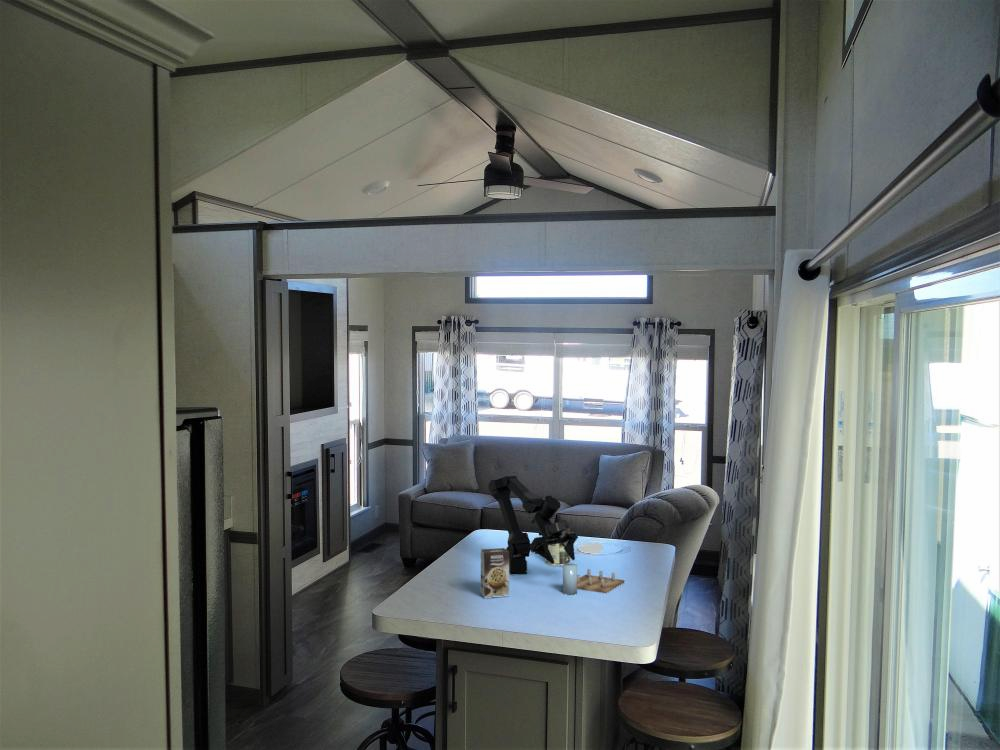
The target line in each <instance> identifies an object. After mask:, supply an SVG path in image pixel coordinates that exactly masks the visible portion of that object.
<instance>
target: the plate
mask: <svg viewBox="0 0 1000 750" xmlns="http://www.w3.org/2000/svg"><path fill="white" fill-rule="evenodd" d="M601 542H605V541H601V540H599V541H598V540H597V541H596V540H594V541H582V542H575V543H574V546H575V545H579V546H577V548H576V550H578V552H575V551H574V555H578V556H584V555H585V556H586V557H593V556H596V555H598V553H599V552H600V551H601V549H602V550H603V549H604V547H603V546H602V545H601V544H602V543H601ZM612 542H613V541H612ZM614 543H616V542H615V541H614V542H613V543H612V544H614ZM580 544H582V545H580ZM579 552H581V553H579ZM588 553H590V554H588ZM605 555H607V554H606V553H605ZM611 555H612V554H609V556H611ZM585 556H584V557H585Z"/></svg>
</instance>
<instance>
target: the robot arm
mask: <svg viewBox="0 0 1000 750" xmlns="http://www.w3.org/2000/svg"><path fill="white" fill-rule="evenodd" d="M488 490H489V492H490V494H491V496H492V498H493V499H494V500H496V501H497V502H498V505H499V509H500V512H501V515H502V517H503V521H504V524H505V527H506V529H507V534H508V538H507V547H506V548H505V549H506V550H508V551H509V575H511V574H518V575H527V574H528V561H527V560H526V558H529V557H530V553H532V554H533V553H535V554H536V555H538V556H540V557H541V558H544V559H545V561H546V560H548V561H549V562H550V563H552V564H554V559H553V557H552V555H551V553H550V551H549V549H548V545H553V544H560V543H561V544H562V546H564V550H565V551H566V552H567V554H568V555H569V556H570V560H572V561H575V560H576V556H575V555H576V554H575V553H574V552H575V551H574V550H575V549H574V547H575V545H574V544H575V543H576V541H578V539H579V536H578V534H577V532H576V531H575V532H574V531H572V532H571V531H570V533H566V534H565V536H564V537H562V538H560V536H561V535H562V532H563V531H566V530H567V528H570V524H569V522H568V521H567V519H562V520H560V521H559V522H558V521H557V522H553V520H552V519H553V518H554V517H555V515H556V514H557V513H558V511H559V510H560V509H561V502H560V501H559V500H558V499H557V498H555V497H553V496H552V495H551V494H549V495H548V494H547V495H545V497H544V498H543V497H541V496H540V495H539V494H536V493H533V492H531V491H530V490H529V489H528V488H527V487H526V486H525V485H524V484H523V483H522V481H520V480H519V479H518V477H517V475H514V474H513V475H512V474H511V475H504V476H503V477H501V478H493V479H491V480H490V482H489V483H488ZM511 493H513V494H514V495H515V496H516V497H517V498H518V499H519V501H521V504H522V508H523V509H524V511H525V513H526V514H534V515H533V516H532V518H531V521H530V523H531V524H535V525H536V527H537V529H538V536H539V537H538V536H537V537H534V539H533V540H532V541H531V540H530V538H529V534H528V533H527V532H526V531H525V532H523V531H522V529H521V527H520V524H519V521H518V519H517V515H516V512H515V509H514V506H513V503H512V500H511Z"/></svg>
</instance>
